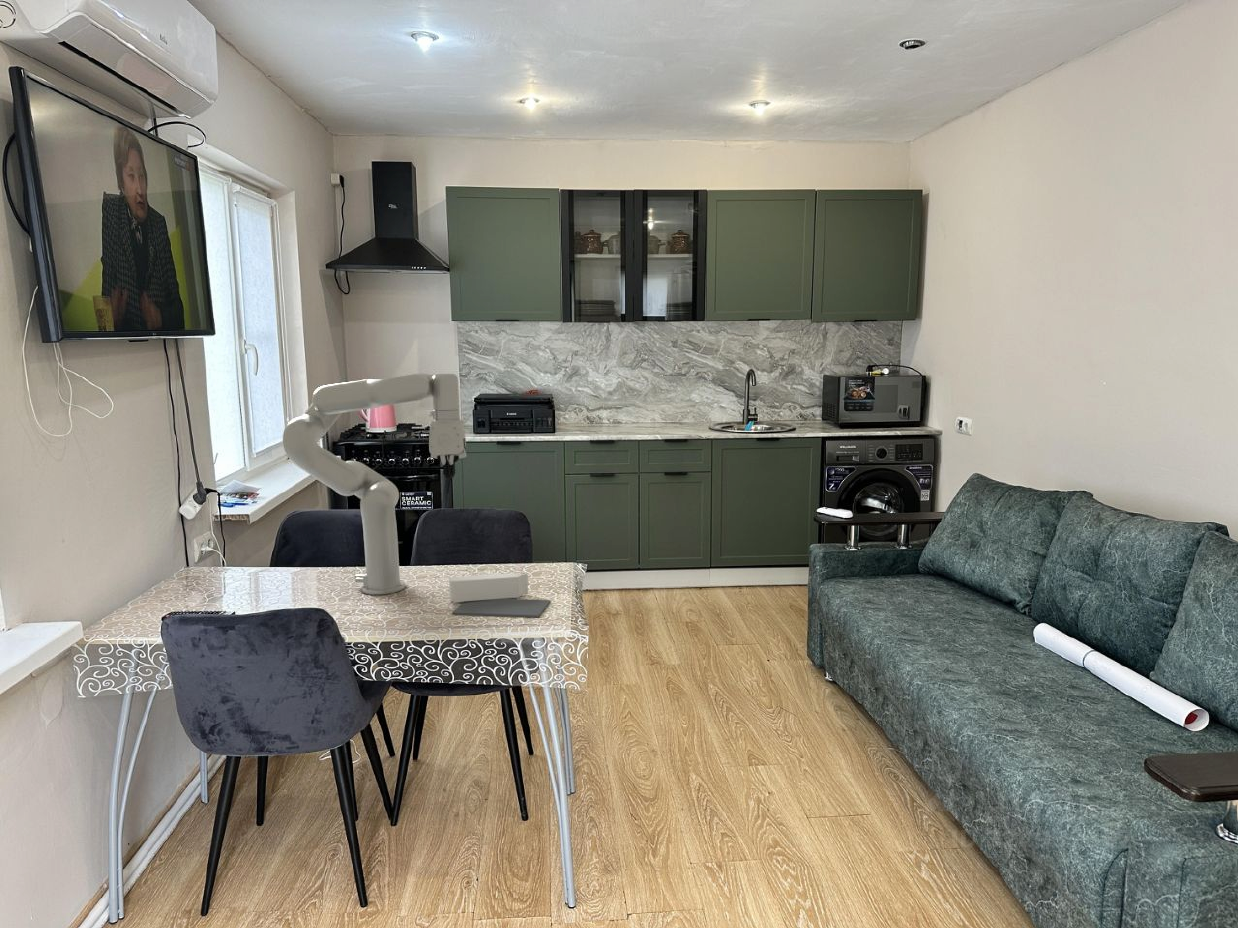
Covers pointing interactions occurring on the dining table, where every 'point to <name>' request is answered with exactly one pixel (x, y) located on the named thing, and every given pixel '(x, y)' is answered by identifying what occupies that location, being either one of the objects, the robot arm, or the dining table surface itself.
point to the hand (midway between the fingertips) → (449, 477)
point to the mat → (503, 608)
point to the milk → (488, 587)
